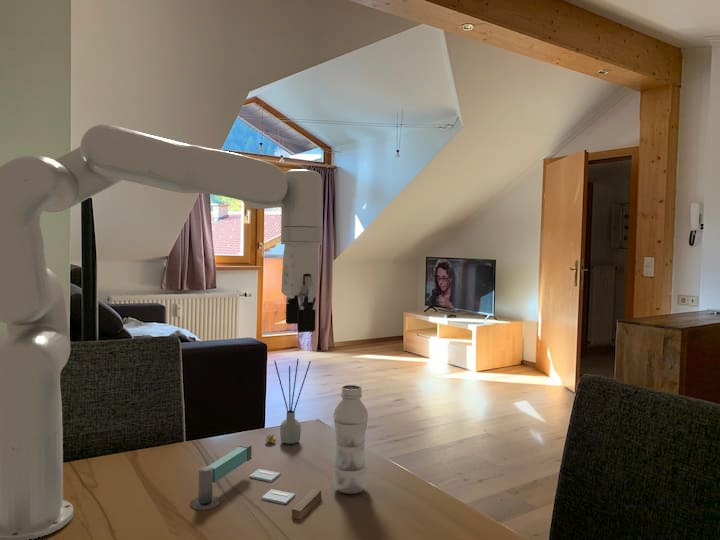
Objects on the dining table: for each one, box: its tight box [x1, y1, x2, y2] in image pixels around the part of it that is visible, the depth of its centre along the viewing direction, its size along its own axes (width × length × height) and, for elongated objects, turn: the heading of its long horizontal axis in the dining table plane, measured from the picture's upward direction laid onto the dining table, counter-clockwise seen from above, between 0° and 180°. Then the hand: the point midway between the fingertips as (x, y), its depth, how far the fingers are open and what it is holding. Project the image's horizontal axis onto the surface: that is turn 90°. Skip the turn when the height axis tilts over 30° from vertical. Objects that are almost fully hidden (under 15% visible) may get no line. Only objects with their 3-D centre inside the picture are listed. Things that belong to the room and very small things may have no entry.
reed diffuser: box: [265, 358, 311, 444], centre depth 127 cm, size 10×7×20 cm
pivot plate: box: [190, 495, 221, 511], centre depth 98 cm, size 5×5×1 cm
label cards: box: [248, 468, 296, 505], centre depth 106 cm, size 12×11×1 cm
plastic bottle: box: [332, 384, 369, 495], centre depth 104 cm, size 6×7×20 cm
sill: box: [291, 488, 322, 520], centre depth 98 cm, size 2×8×2 cm, turn 159°
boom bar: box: [197, 443, 253, 504], centre depth 104 cm, size 15×2×6 cm, turn 159°
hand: (299, 327), depth 104 cm, fingers open, 9 cm apart
